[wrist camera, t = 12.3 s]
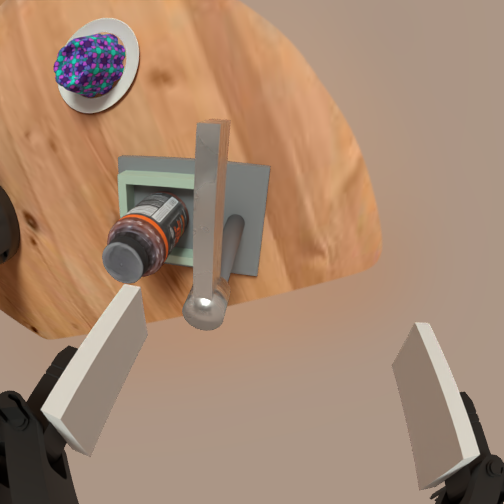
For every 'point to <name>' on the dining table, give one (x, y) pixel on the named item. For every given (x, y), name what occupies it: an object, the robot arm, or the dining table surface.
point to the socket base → (182, 185)
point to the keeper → (208, 227)
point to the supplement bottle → (145, 237)
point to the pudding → (96, 65)
